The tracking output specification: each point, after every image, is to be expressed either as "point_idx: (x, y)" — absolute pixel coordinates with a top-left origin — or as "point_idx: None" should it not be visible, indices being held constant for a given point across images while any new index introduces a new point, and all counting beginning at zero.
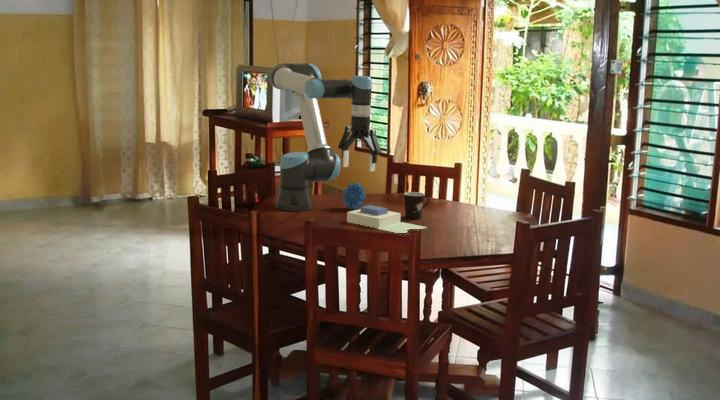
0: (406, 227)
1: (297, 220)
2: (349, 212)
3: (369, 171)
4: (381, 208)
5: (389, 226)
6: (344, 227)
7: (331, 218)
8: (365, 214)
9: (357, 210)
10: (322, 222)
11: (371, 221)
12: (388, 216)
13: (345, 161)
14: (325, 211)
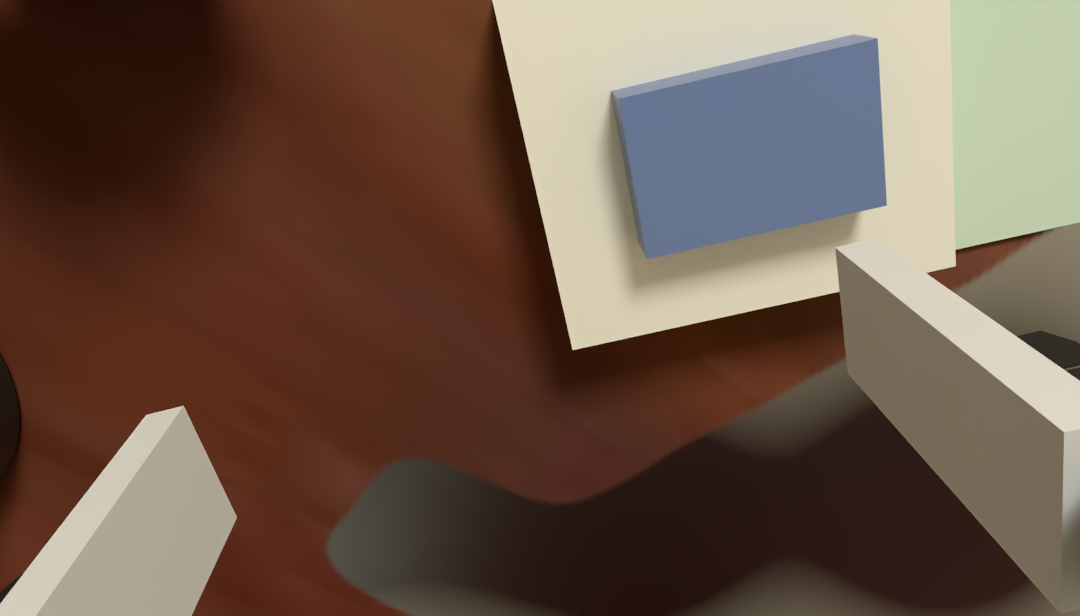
0: (1072, 2)
1: (330, 582)
2: (596, 341)
3: (855, 372)
4: (831, 104)
5: None
6: (700, 429)
7: (388, 344)
8: (749, 267)
9: (567, 224)
10: (476, 474)
11: None
12: (952, 123)
13: (184, 566)
14: (101, 230)
